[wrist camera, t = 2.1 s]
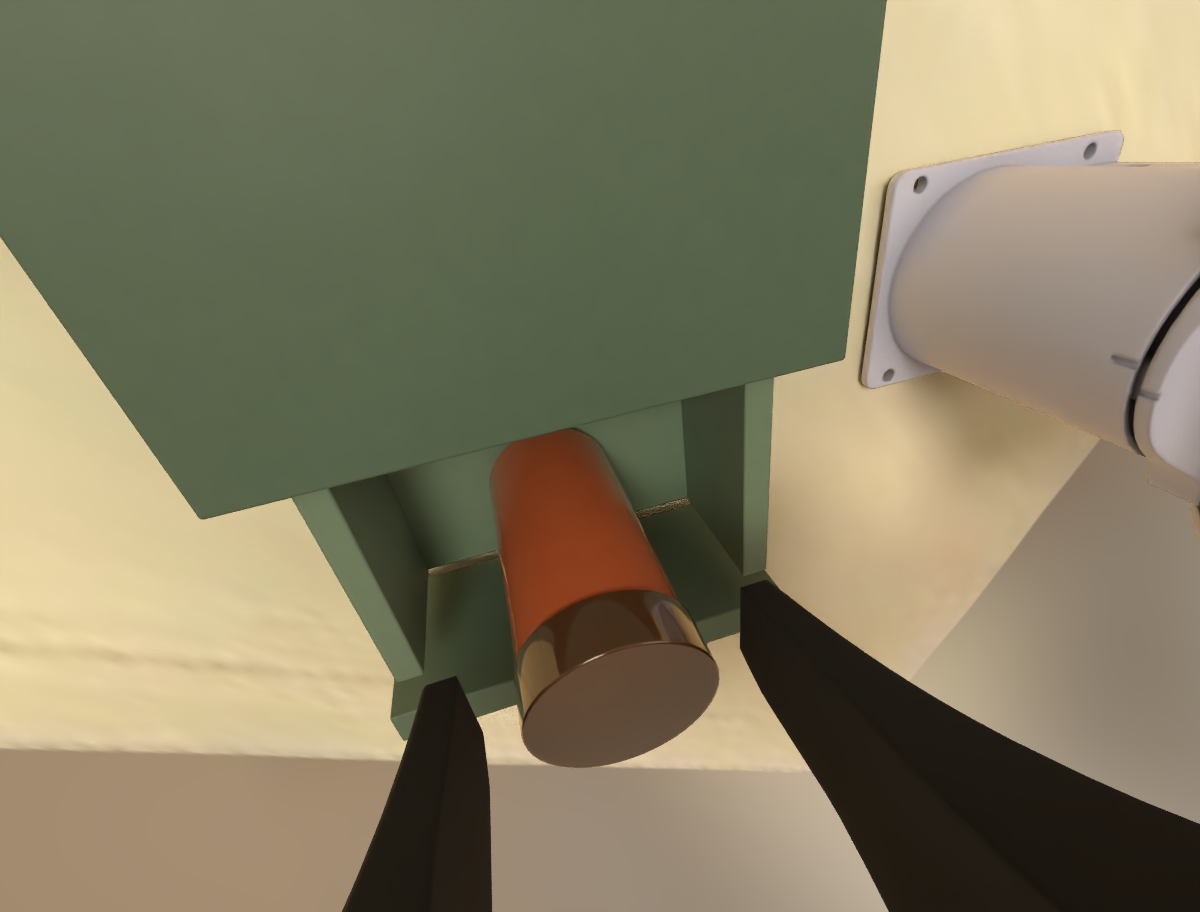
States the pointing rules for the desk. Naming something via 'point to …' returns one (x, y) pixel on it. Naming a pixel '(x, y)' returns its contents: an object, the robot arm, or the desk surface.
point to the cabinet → (429, 215)
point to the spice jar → (590, 610)
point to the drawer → (466, 529)
